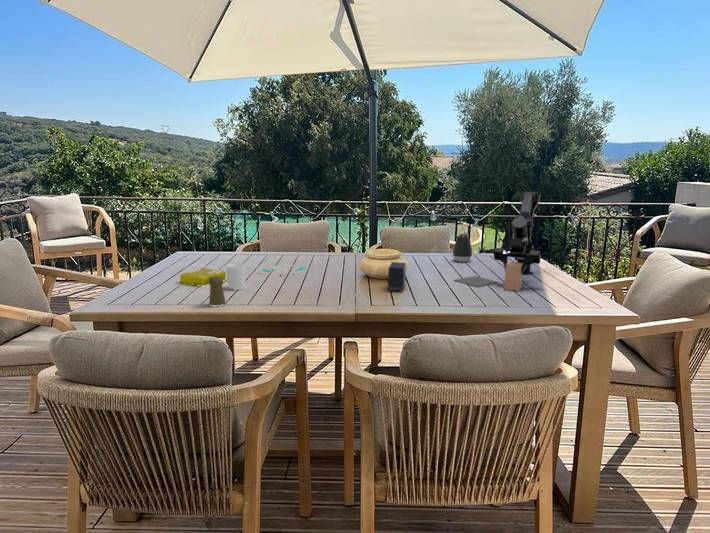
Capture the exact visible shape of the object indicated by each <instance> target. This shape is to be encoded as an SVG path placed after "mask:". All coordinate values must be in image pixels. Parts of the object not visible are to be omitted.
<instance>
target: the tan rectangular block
mask: <svg viewBox="0 0 710 533" xmlns="http://www.w3.org/2000/svg"><path fill="white" fill-rule="evenodd" d="M507 261H508V260H507ZM522 266H523V263H520V262H517V261H508V262H507V264H506V271H505V270H504V272H505V274H504V287H503V288H504V289H503V290H504V291H512V290H515V292H520V291H521V289H522V283H523V274H522V273H521V269H522Z"/></svg>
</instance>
